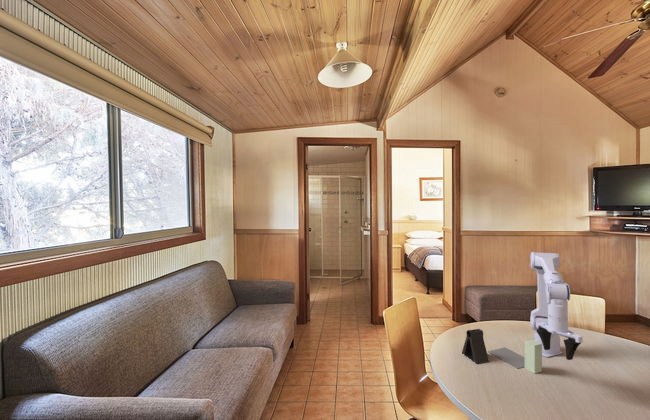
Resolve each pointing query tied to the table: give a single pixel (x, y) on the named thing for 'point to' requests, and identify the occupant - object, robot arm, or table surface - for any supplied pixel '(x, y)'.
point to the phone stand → (475, 346)
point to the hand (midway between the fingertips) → (557, 354)
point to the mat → (509, 357)
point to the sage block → (533, 356)
